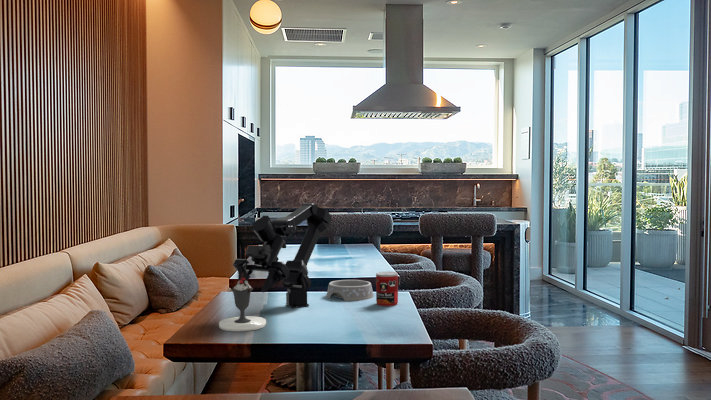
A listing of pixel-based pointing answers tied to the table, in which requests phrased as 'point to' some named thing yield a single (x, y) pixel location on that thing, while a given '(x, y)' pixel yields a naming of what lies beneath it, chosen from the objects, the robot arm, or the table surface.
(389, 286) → the canned food
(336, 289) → the dog bowl
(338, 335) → the table surface
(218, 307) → the table surface
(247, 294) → the sundae
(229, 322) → the saucer
